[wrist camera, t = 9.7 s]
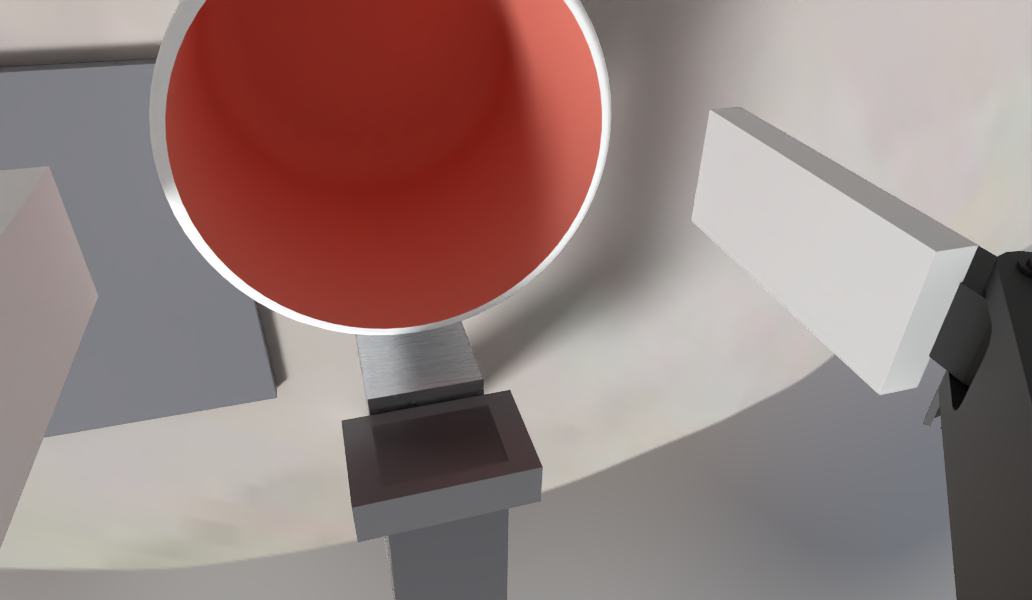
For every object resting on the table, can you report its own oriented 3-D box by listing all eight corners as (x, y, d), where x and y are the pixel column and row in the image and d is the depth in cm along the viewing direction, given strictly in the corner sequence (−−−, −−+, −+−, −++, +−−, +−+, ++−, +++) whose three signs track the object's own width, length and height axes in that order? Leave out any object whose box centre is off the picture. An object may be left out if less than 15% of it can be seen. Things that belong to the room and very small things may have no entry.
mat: (-358, 87, 19) (-375, 94, 18) (198, 56, 22) (196, 61, 22) (-105, 452, 27) (-112, 464, 26) (276, 388, 30) (276, 397, 30)
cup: (550, -42, 24) (692, 28, 16) (436, 211, 28) (502, 369, 20) (243, -210, 19) (223, -230, 11) (160, 124, 23) (101, 285, 15)
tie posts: (269, -249, 19) (269, -310, 10) (382, -245, 19) (475, -297, 11) (368, 442, 33) (403, 663, 25) (431, 430, 34) (486, 641, 25)
